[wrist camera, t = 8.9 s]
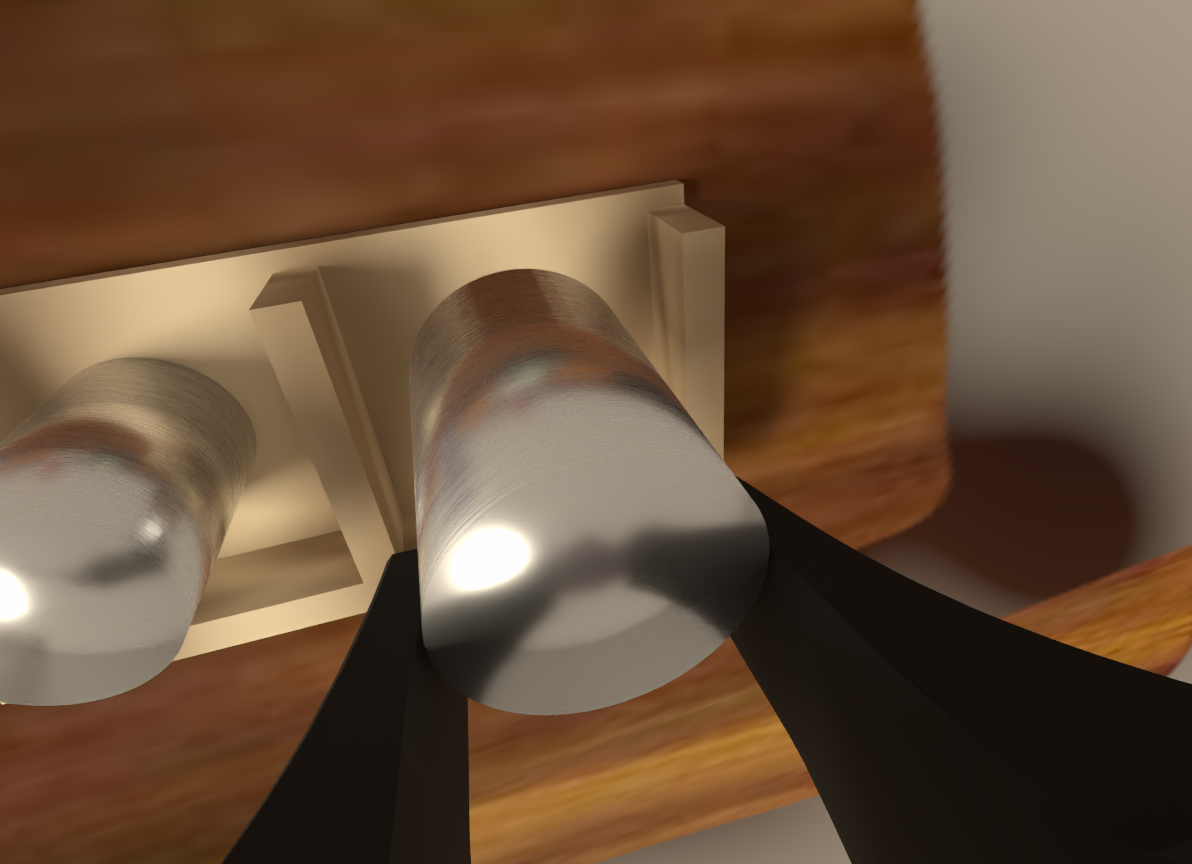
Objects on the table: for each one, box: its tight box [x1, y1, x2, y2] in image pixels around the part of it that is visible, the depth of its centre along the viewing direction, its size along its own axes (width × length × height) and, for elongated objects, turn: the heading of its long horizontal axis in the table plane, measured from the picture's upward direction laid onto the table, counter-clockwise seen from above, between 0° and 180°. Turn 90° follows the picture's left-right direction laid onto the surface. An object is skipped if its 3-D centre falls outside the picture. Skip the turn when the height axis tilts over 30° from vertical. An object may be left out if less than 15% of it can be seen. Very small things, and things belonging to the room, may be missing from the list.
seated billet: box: [0, 358, 257, 706], centre depth 13 cm, size 4×4×6 cm
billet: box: [409, 269, 770, 715], centre depth 10 cm, size 4×4×6 cm
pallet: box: [0, 180, 725, 704], centre depth 16 cm, size 19×9×3 cm, turn 96°
